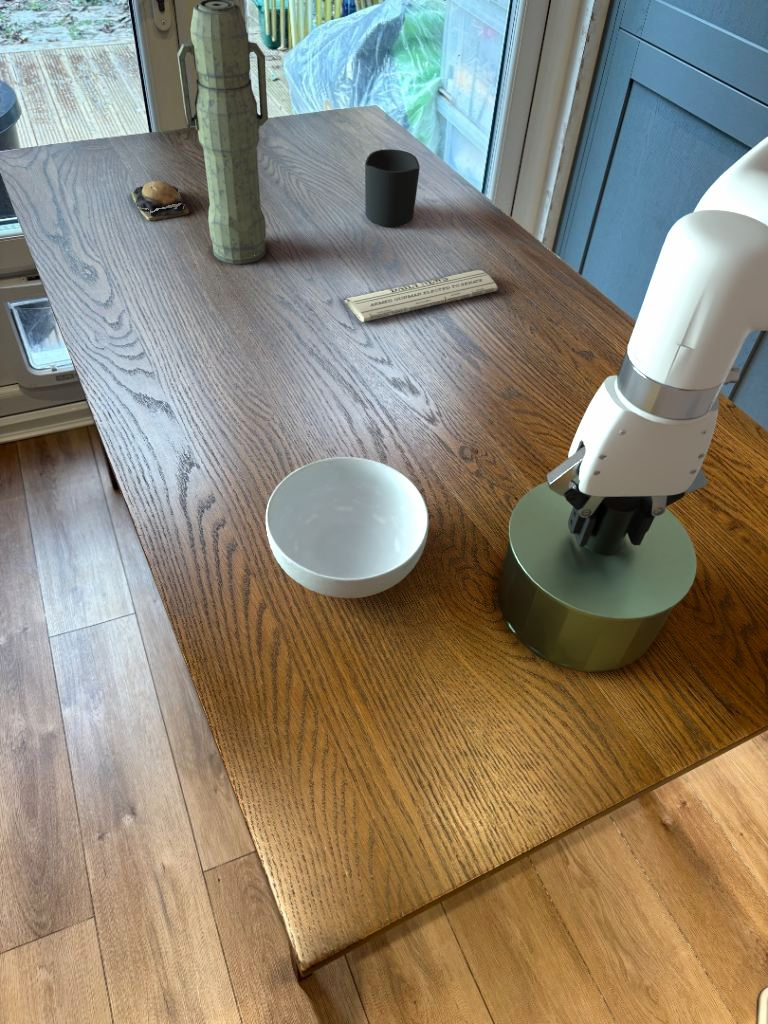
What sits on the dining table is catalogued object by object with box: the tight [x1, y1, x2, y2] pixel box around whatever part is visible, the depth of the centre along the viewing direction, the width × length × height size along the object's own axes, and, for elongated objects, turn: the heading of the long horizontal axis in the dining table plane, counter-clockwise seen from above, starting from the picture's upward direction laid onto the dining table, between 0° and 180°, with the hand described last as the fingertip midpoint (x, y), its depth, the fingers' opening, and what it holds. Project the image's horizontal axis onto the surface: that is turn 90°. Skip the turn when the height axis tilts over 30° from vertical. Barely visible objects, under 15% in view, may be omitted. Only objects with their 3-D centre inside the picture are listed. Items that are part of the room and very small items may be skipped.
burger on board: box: [131, 180, 190, 222], centre depth 133 cm, size 11×8×4 cm
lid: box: [508, 475, 697, 621], centre depth 70 cm, size 18×18×7 cm
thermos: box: [176, 0, 269, 265], centre depth 112 cm, size 9×12×35 cm
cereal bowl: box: [265, 456, 430, 600], centre depth 79 cm, size 17×17×7 cm
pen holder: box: [364, 148, 421, 228], centre depth 132 cm, size 9×9×10 cm
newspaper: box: [344, 269, 498, 323], centre depth 117 cm, size 24×7×2 cm, turn 117°
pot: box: [496, 542, 675, 673], centre depth 76 cm, size 17×17×10 cm
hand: (604, 533), depth 71 cm, fingers open, 4 cm apart
